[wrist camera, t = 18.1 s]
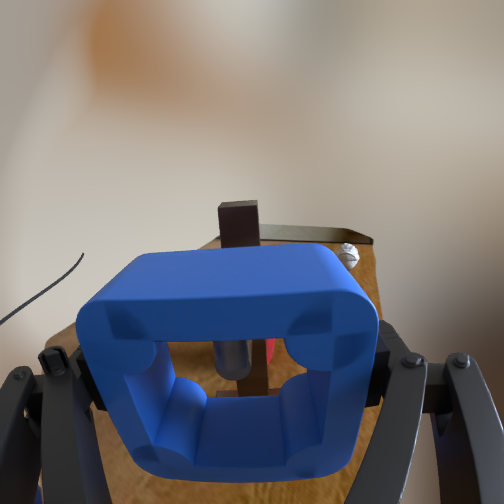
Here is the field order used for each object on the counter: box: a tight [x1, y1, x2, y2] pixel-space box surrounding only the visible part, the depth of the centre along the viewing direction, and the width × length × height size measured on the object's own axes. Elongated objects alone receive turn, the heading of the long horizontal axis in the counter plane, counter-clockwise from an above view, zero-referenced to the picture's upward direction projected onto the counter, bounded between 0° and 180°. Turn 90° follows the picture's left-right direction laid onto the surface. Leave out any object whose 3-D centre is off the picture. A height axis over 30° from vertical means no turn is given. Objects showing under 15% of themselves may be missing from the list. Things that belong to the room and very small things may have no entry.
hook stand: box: [213, 200, 281, 397], centre depth 24 cm, size 19×10×25 cm, turn 179°
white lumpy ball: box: [336, 243, 359, 270], centre depth 76 cm, size 6×7×7 cm
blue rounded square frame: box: [76, 243, 379, 483], centre depth 12 cm, size 5×10×10 cm, turn 89°
